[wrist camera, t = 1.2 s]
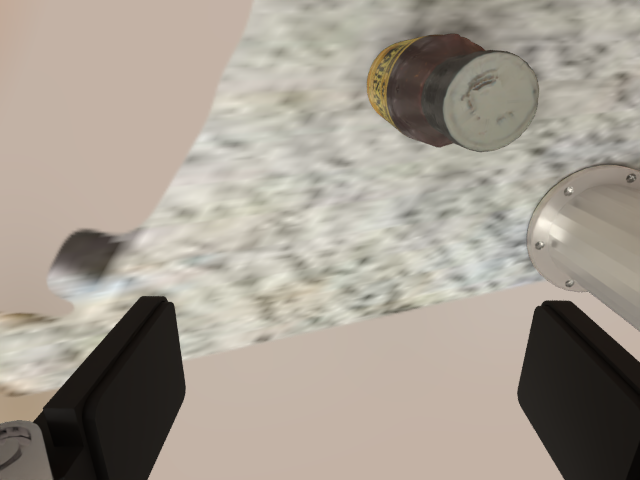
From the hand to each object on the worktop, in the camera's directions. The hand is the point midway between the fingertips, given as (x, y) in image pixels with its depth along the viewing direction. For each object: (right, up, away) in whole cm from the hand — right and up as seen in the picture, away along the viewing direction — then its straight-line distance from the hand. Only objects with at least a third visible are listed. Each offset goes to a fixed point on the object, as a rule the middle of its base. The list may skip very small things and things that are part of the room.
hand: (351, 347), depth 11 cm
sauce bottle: (+6, +16, +25) cm, 30 cm away
